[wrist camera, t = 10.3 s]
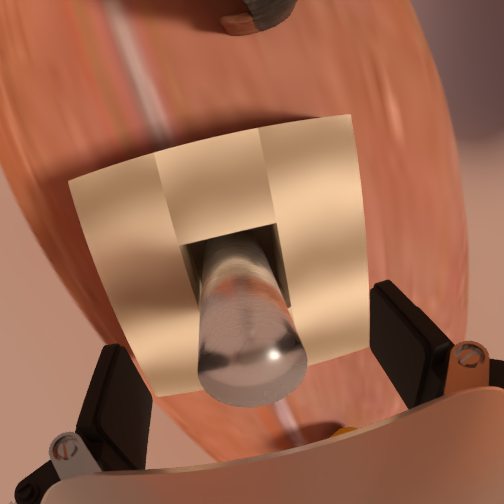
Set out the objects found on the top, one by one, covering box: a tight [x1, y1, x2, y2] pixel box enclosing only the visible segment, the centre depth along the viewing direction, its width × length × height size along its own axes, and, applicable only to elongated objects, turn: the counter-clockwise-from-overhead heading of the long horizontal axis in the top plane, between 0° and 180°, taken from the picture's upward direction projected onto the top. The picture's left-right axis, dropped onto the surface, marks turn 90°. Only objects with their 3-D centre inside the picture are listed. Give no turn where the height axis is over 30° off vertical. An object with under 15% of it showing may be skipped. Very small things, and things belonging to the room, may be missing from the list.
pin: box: [197, 230, 308, 407], centre depth 17 cm, size 4×4×12 cm
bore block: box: [68, 114, 369, 397], centre depth 21 cm, size 16×16×5 cm
